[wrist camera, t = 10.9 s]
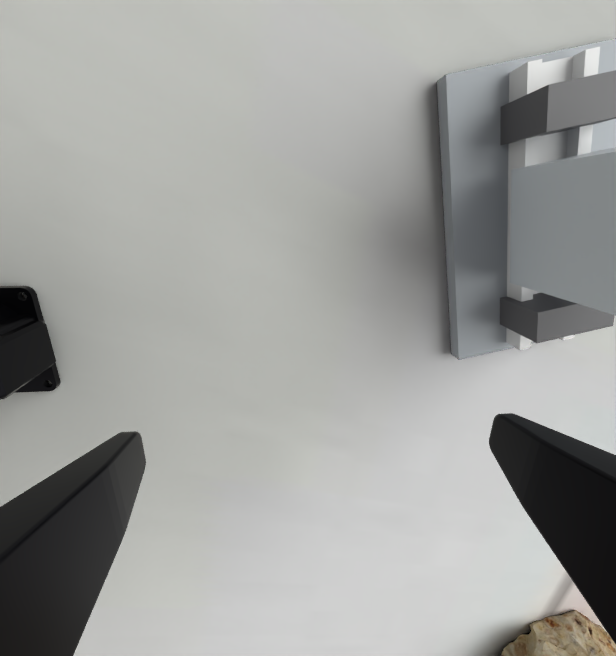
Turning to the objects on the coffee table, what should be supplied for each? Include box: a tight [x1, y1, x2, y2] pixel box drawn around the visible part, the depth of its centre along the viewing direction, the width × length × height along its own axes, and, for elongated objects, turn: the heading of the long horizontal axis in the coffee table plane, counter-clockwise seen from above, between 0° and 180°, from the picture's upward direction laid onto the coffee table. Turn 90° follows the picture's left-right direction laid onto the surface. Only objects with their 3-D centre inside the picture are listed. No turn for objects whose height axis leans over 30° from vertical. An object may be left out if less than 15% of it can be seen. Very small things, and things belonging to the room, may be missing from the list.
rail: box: [437, 38, 616, 360], centre depth 18 cm, size 16×10×4 cm, turn 12°
